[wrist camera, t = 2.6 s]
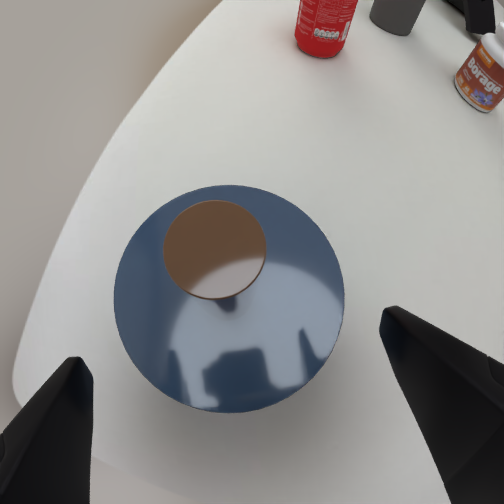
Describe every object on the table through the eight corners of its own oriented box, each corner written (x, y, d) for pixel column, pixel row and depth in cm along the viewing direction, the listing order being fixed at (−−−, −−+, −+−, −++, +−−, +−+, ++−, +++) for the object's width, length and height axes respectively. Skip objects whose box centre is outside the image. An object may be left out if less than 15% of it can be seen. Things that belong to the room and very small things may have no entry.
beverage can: (287, 51, 28) (303, -49, 16) (299, 28, 29) (315, -61, 17) (337, 66, 27) (367, -31, 16) (344, 41, 29) (371, -45, 17)
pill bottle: (445, 82, 28) (487, 17, 17) (463, 71, 29) (501, 15, 19) (482, 120, 27) (533, 62, 16) (497, 105, 28) (541, 54, 17)
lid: (325, 417, 15) (405, 480, 6) (107, 385, 15) (0, 411, 6) (343, 208, 18) (412, 110, 10) (145, 184, 18) (89, 77, 10)
